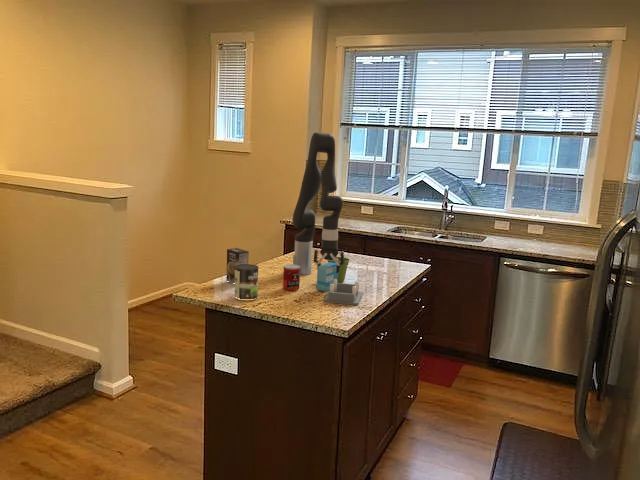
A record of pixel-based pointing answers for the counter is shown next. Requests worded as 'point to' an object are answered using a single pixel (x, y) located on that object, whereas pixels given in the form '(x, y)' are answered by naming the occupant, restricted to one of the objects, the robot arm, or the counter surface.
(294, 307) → the counter surface
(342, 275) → the plant pot
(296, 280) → the canned food
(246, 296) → the coffee can
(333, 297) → the tray
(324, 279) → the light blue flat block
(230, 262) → the coffee box
